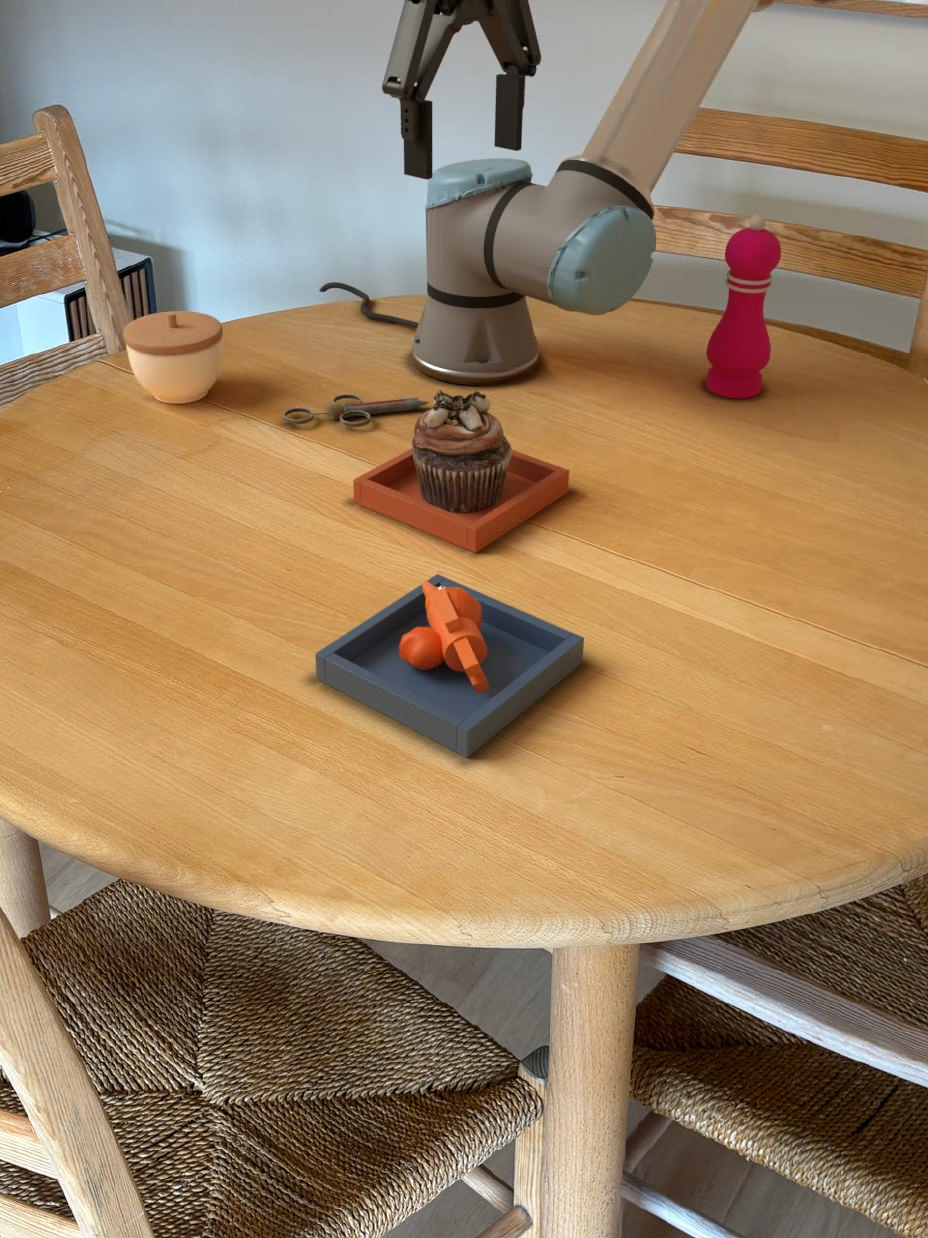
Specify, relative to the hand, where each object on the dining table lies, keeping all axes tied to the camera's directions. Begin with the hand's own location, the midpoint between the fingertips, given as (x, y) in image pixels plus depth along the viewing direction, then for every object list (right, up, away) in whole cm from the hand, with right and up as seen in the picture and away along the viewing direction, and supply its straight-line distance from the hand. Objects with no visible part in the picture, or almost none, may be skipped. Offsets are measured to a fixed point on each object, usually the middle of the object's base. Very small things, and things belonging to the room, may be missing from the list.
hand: (464, 161), depth 117 cm
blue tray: (-1, -47, -18) cm, 50 cm away
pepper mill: (+31, -16, +29) cm, 45 cm away
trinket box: (-32, -17, +25) cm, 44 cm away
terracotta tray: (0, -31, +6) cm, 31 cm away
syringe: (-11, -21, +21) cm, 31 cm away
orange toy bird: (-2, -46, -18) cm, 50 cm away
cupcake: (0, -31, +5) cm, 31 cm away
